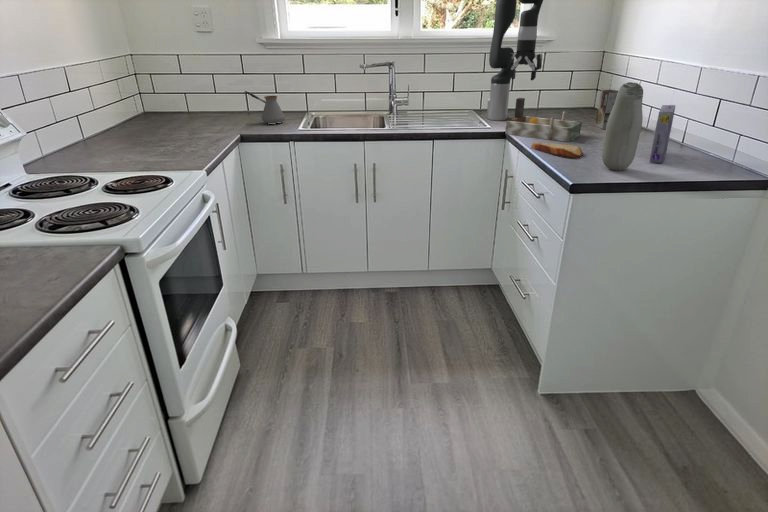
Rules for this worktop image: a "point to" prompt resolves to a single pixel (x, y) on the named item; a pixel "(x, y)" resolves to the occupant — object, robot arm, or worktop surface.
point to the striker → (519, 111)
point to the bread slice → (558, 149)
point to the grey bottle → (623, 127)
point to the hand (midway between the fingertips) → (522, 79)
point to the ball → (533, 120)
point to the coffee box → (605, 107)
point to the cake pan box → (662, 133)
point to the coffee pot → (270, 109)
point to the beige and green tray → (545, 129)
